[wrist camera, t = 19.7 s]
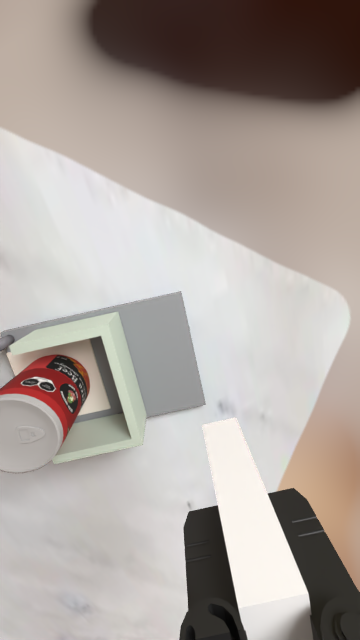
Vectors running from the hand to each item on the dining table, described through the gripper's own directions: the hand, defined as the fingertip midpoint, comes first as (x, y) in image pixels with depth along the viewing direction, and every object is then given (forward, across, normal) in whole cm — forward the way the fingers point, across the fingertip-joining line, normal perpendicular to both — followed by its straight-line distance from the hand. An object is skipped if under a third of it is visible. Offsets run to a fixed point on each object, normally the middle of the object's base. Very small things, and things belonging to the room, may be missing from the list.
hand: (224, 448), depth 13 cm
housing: (+23, -13, -4) cm, 27 cm away
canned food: (+23, -17, -4) cm, 29 cm away
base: (+24, -11, -4) cm, 27 cm away
